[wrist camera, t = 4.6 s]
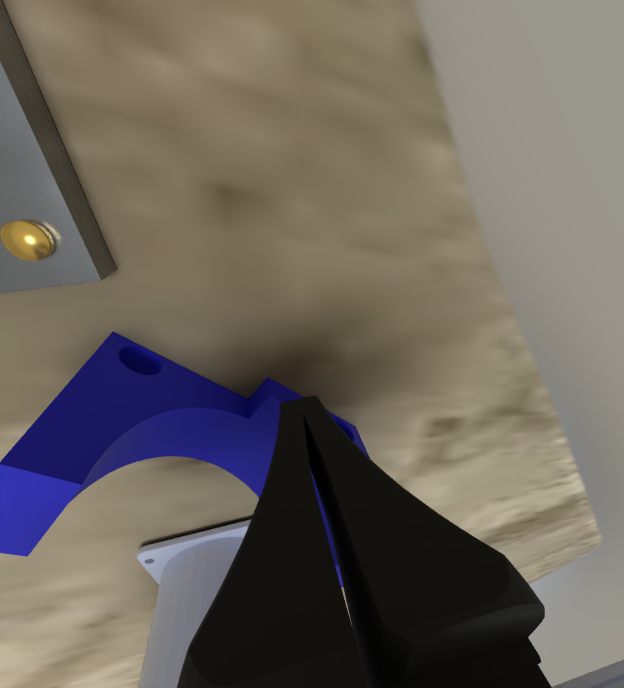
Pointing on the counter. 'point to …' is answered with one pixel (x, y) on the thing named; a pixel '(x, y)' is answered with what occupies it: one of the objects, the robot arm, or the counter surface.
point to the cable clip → (135, 435)
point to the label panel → (39, 188)
